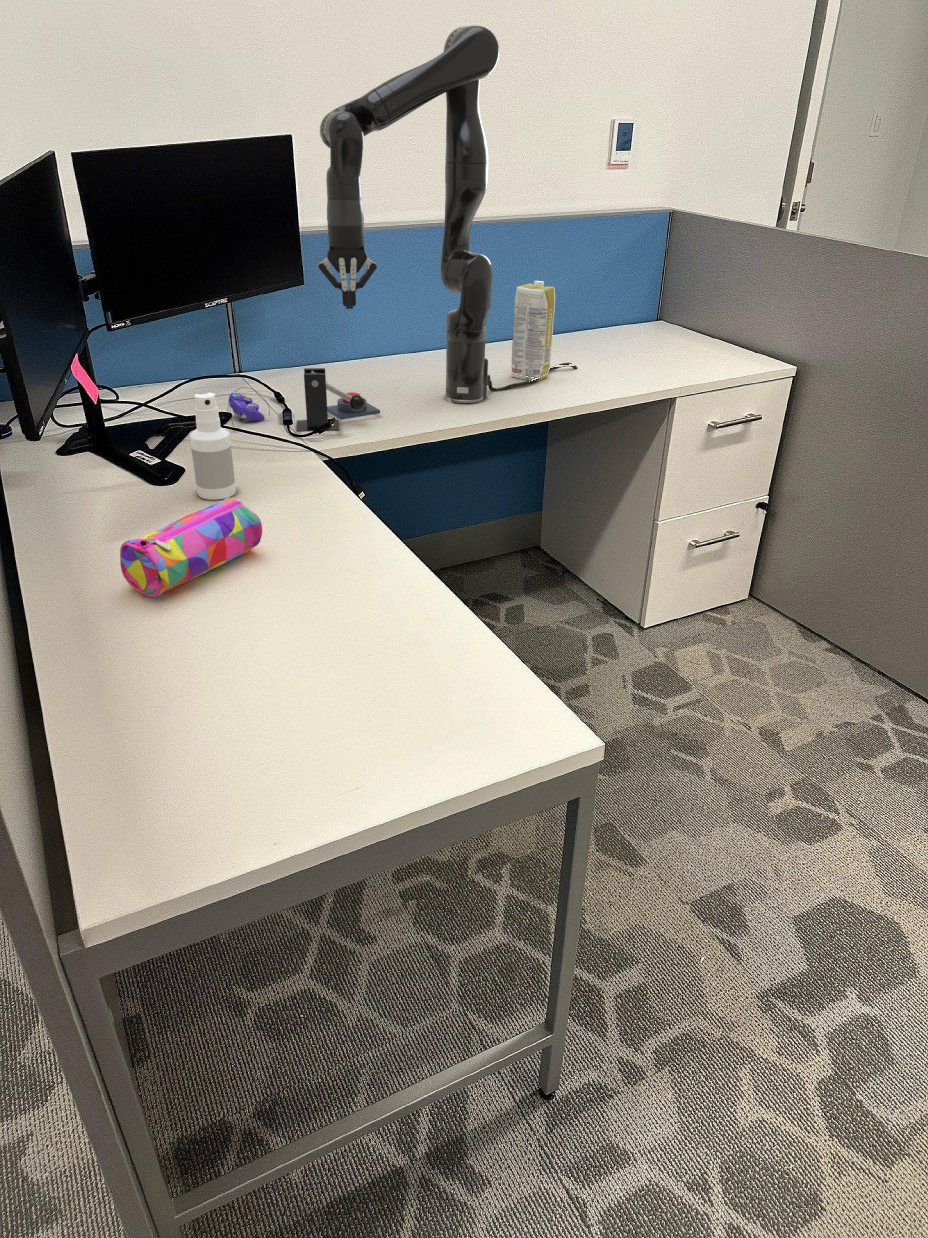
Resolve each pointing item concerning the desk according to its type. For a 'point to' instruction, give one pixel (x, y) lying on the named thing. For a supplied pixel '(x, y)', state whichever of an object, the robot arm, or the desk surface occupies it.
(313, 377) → the switch bracket
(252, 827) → the desk surface
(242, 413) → the game controller
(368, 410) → the button box
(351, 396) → the stop button
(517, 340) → the juice carton
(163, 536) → the pencil case
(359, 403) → the switch lever
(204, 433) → the spray bottle
